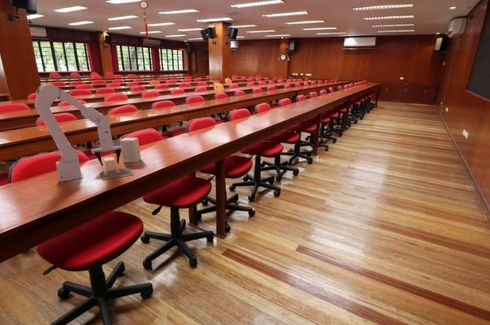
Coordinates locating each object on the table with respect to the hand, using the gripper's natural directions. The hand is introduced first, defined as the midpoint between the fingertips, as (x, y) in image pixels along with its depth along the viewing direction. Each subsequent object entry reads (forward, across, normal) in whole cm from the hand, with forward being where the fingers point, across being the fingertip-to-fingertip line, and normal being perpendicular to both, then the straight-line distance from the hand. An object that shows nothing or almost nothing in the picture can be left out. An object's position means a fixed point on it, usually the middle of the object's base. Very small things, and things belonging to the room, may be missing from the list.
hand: (110, 164), depth 144 cm
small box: (+3, -12, -8) cm, 15 cm away
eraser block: (+2, 0, 0) cm, 3 cm away
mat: (+2, -2, +10) cm, 10 cm away
